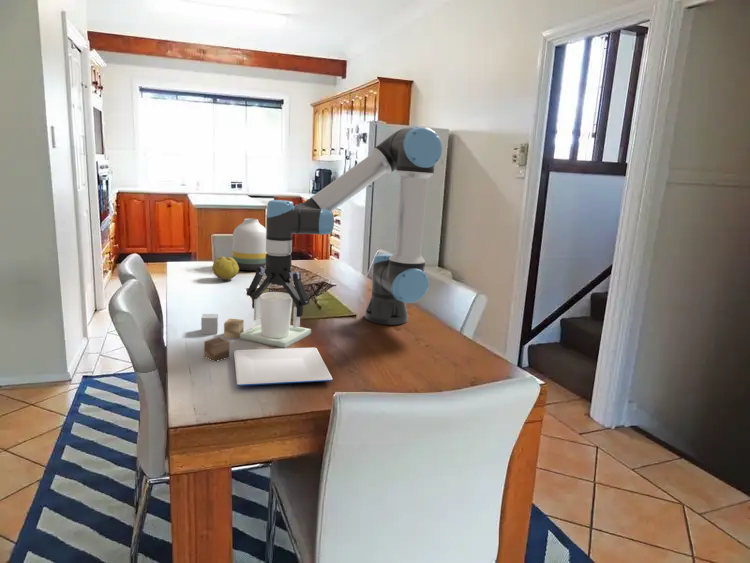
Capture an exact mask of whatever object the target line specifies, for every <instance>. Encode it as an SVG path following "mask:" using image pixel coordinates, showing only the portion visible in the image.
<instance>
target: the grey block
mask: <svg viewBox="0 0 750 563" xmlns="http://www.w3.org/2000/svg"><path fill="white" fill-rule="evenodd" d="M200 323H201V324H200V325H201V329H200V330H201V335H217V334H218V332H219V313H203V314H202V315H201V322H200Z"/></svg>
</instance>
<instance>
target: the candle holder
mask: <svg viewBox="0 0 750 563" xmlns="http://www.w3.org/2000/svg"><path fill="white" fill-rule="evenodd" d="M259 298H260V313H261V319H260V324H261V334H262V335H263V336H264V337H267V338H284V337H287V336H288V335H289V331H290V325H291V319H292V309H293V308H292V307H293V302H294V301H293V299H292V298H291V296H290V295H289V293H288V292H282V291H270V292H269V291H267V292H264V293H262V294H261V295H260V297H259Z"/></svg>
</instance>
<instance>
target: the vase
mask: <svg viewBox="0 0 750 563" xmlns="http://www.w3.org/2000/svg"><path fill="white" fill-rule="evenodd" d="M231 246H232V247H231V248H232V253H231V254H232V256H231V258H233V259H234V260H235V261H236V262H237V264H238V266H239V270H241V271H248V272H249V271H252V272H254V271H255V272H256V268H257V267H261V266H263V267H264V266H265V260H266V254H267V252H266V226H264V225H262V224H261V223H260V222H259V219H258V218H244V219H243V222H242V223H240V224H238V226H236V227H235V228H234V230H233V232H232V245H231Z"/></svg>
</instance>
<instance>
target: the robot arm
mask: <svg viewBox="0 0 750 563" xmlns="http://www.w3.org/2000/svg"><path fill="white" fill-rule="evenodd" d="M442 144H443V143H442V140H441V138H440V136H439V135H438V134H437V133H436V131H434V130H433V129H431V128H429V127H422V126H414V127H409V128H402V129H399V130H396V131H395V132H394V133H392V134H391V135H389V136H388V137H387V138H385V139H384V140H382V142H380V143H379V144H378V145H376V146H375V147H374V148H372V151H371V152H372V153H371V154H369V155H368V156H366V157H365V158H364V159H363V160H361V161H360V162H358V163H357V164H356V165H354V166H353V167H351V168H350V169H348V170H347V171H345V172H344V173H343V174H342V175H340V176H339V177H337V178H336V179H334V180H333V181H332V182H330V183H329V184H328V185H326V186H325V187H323V188H322V189H321V190H319V191H318V192H316V193H315V194H314V195H312V196H311V197H309V198H307V200H305V201H304V202H302V203H298V204H296V205H294V202H293V201H292V200H283V199H272V200H269V201H268V202H267V206H266V215H265V217H266V222H265V223H266V226H265V228H266V252H267V254H266V260H265V265H266V267H265V268H264V267H263V266H261V267H257V268H256V271H255V275H254V277H253V279H252V280H251V283H250V285H249V287H248V289H247V291H246V295H247V297H250V298H251V307H252V309H253V321H258V320H261V313H260V295H261V294H263V292H265V290H266V289H267V288H268V287H269V286H270V285H277V286H280V287H281V286H282V287H283V288H284V289H285V290H286V293H288V294H289V295H290V296H291V298H292V299H293V301H292V302H294V304H295V305H294V306H293V313H292V314H293V317H292V318H293V320H292V325H293V328H296V327H301V317H302V316H303V313H304V306H307V305H308V304H309V305H310V300H309V297H308V294H307V292H306V289H305V287H304V284H303V282H302V281H303V280H302V278H301V272H300V271H296V272H292V270H291V268H292V258H293V257H292V255H291V254H292V250H293V249H292V248H293V235H299V234H300V235H304V234H305V235H319V236H323V235H330V234H332V232H333V230H334V226H335V216H334V213H333V211H334V210H336V209H337V208H339V207H340V206H342V205H343V204H344V203H345V202H347V201H349V200H350V199H351V198H353V197H354V196H355V195H357V194H358V193H361V191H362V190H364V189H365V188H366V187H368V186H369V185H371V184H372V183H373V182H375V181H376V180H377V179H379V178H380V177H382V176H384V175H385V174H388V175H390V174H391V173H392V172H394V171H396V173H397V174H398V175H399V177H400V182H399V192H398V193H399V194H398V203H397V205H398V206H397V215H396V216H397V218H396V226H395V227H396V228H395V229H396V230H395V240H394V252H393V254H377V255H375V256H374V258H373V263H372V281H371V294H370V295H371V296H370V299H369V301H368V304H367V307H366V308H365V312H364V318H365V320H366V321H368V322H370V323H374V324H378V325H379V324H380V325H385V326H387V325H388V326H398V325H403V324H405V323H407V322H408V318H409V314H408V309H407V305H406V304H413V303H416V302H418V301H420V300H421V299H422V298H423V297H424V296H425V295H426V294H427V292H428V290H429V285H430V284H429V283H430V280H429V277H428V276H427V273H426V272H425V267H426V260H425V259H424V257H423V256H422V247H423V238H424V227H425V215H426V205H427V194H428V184H429V179H430V178H432V176H434V173H435V165H436V164H437V163H438V161H439V160H440V158H441V157H442V153H443V145H442ZM264 275H265V277H266V278H265V279H264V280H263V281H262V283H261V280H262V278H263V276H264ZM290 278H291V279H290ZM292 281H293V282H292ZM260 283H261V284H260ZM259 285H260V286H259Z"/></svg>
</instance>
